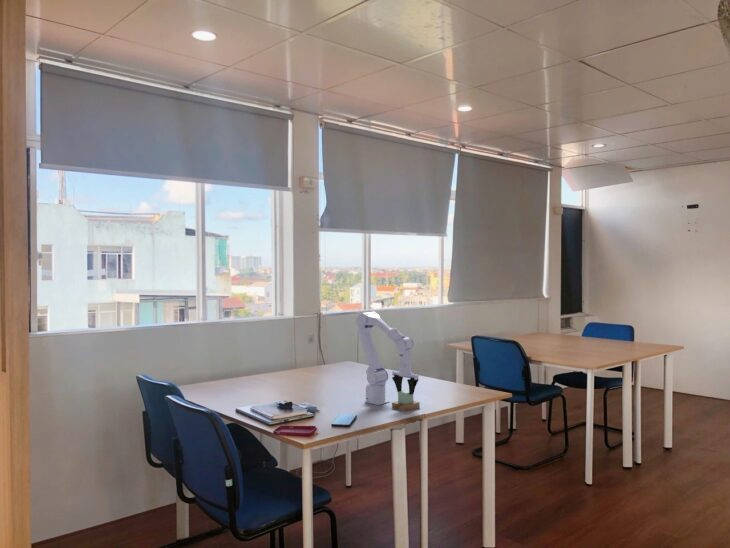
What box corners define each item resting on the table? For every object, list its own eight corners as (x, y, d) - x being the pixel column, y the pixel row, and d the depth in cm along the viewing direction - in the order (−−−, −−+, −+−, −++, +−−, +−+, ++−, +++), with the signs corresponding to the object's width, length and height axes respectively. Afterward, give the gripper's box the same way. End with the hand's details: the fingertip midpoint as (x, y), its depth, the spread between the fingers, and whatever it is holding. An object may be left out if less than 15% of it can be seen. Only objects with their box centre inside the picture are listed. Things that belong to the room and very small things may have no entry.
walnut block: (392, 409, 269) (391, 402, 269) (405, 405, 276) (405, 399, 276) (406, 412, 263) (406, 405, 263) (419, 408, 269) (419, 402, 269)
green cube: (398, 402, 269) (397, 391, 269) (405, 400, 273) (405, 390, 273) (406, 404, 266) (405, 393, 266) (413, 402, 269) (413, 391, 269)
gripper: (422, 364, 267) (423, 393, 267) (399, 360, 277) (399, 389, 277) (412, 366, 262) (413, 396, 262) (389, 362, 272) (389, 391, 272)
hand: (405, 392), depth 269 cm, fingers open, 7 cm apart
